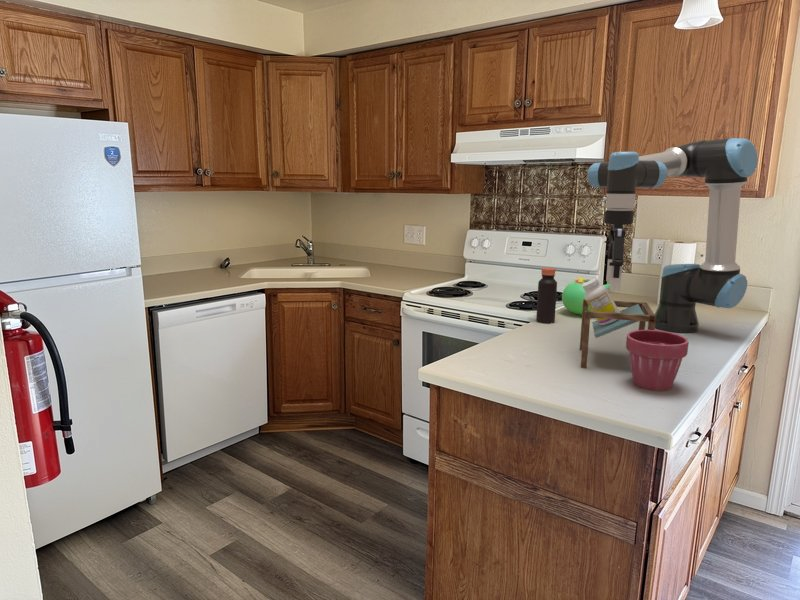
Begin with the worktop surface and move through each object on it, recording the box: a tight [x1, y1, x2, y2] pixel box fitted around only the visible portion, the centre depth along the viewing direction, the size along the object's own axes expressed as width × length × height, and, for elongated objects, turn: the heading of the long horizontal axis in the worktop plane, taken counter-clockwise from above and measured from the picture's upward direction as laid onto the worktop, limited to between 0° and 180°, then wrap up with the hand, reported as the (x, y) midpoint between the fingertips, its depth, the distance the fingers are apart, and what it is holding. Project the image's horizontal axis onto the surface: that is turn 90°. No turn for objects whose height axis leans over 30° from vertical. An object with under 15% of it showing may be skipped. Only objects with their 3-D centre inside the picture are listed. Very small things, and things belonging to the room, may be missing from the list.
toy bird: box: [561, 276, 610, 316], centre depth 217 cm, size 18×17×15 cm
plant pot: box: [625, 329, 689, 392], centre depth 140 cm, size 14×14×13 cm
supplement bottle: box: [582, 277, 621, 326], centre depth 158 cm, size 7×7×13 cm
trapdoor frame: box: [579, 299, 656, 369], centre depth 159 cm, size 18×19×16 cm
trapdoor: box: [592, 304, 644, 339], centre depth 158 cm, size 14×15×1 cm
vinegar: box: [535, 267, 558, 324], centre depth 204 cm, size 7×7×20 cm
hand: (612, 285), depth 156 cm, fingers open, 13 cm apart
